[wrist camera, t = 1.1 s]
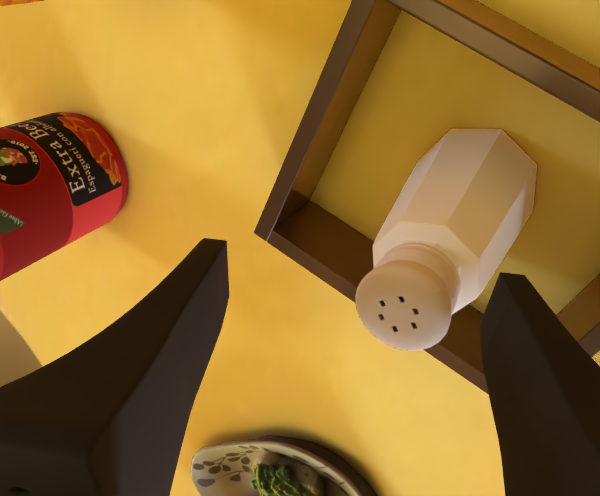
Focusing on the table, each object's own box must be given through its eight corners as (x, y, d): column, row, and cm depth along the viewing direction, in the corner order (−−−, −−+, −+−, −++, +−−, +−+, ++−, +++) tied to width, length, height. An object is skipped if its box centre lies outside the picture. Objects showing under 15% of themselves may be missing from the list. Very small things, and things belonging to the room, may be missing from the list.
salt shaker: (441, 250, 26) (357, 398, 17) (396, 149, 25) (283, 253, 16) (559, 221, 23) (529, 383, 14) (515, 102, 21) (452, 201, 13)
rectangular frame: (756, 154, 19) (785, 194, 15) (531, 362, 26) (521, 417, 23) (403, -40, 21) (368, -39, 18) (291, 202, 29) (253, 233, 26)
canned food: (149, 168, 32) (-17, 245, 24) (108, 242, 37) (-41, 328, 29) (61, 81, 33) (-135, 126, 24) (32, 167, 38) (-138, 229, 29)
